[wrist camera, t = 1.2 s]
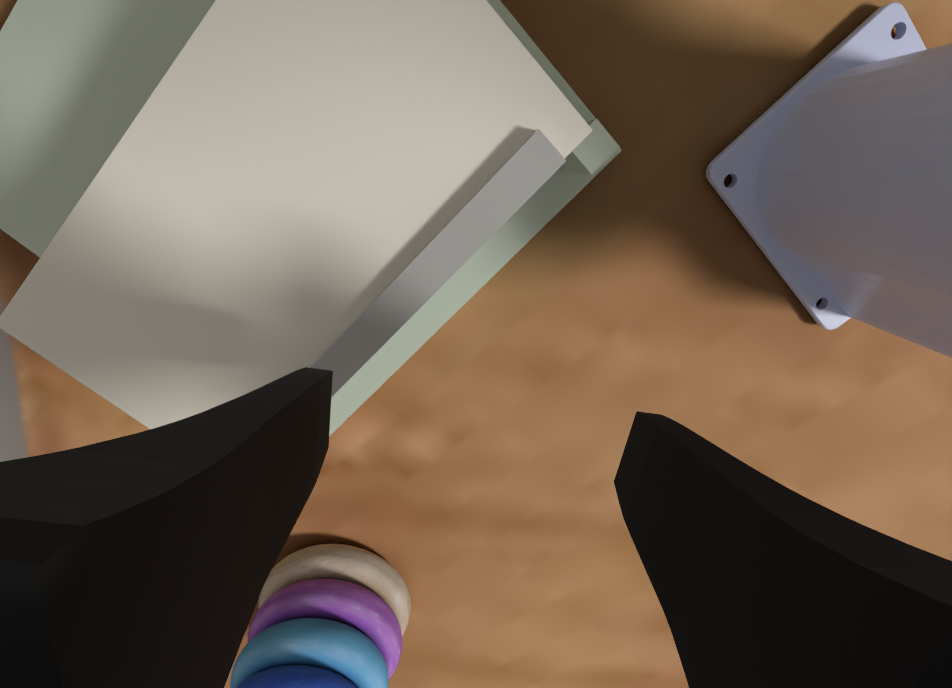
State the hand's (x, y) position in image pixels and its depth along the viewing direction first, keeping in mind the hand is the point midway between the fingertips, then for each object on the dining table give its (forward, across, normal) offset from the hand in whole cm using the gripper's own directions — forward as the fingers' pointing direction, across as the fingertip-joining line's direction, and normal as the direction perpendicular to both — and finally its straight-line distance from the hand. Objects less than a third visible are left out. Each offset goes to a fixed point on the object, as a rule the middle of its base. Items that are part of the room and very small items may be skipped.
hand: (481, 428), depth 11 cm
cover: (+4, +6, -3) cm, 8 cm away
